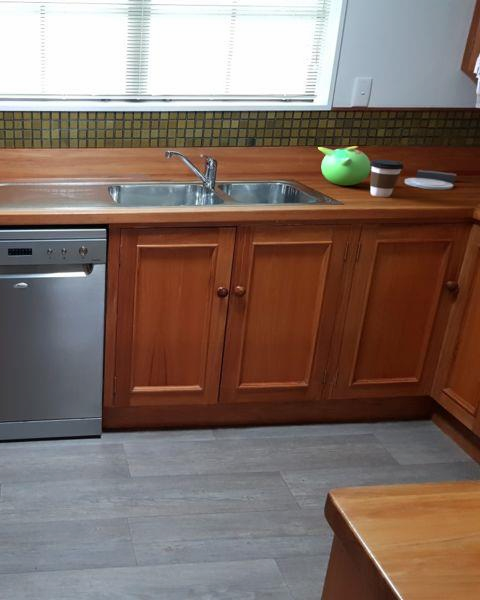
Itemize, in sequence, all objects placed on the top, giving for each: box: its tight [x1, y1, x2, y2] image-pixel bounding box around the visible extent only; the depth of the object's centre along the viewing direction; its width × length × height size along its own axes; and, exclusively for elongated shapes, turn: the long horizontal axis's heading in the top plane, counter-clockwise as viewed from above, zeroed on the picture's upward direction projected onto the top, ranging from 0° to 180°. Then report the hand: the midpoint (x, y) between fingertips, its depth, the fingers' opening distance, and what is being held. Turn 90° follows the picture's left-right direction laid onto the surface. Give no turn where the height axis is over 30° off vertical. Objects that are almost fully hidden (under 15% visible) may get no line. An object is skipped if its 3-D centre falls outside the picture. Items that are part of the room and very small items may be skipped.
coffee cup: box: [369, 158, 405, 198], centre depth 218 cm, size 11×11×12 cm
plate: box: [404, 177, 454, 191], centre depth 239 cm, size 17×17×1 cm
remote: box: [415, 169, 458, 183], centre depth 249 cm, size 14×4×3 cm, turn 59°
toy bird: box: [317, 145, 372, 187], centre depth 232 cm, size 18×17×15 cm
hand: (477, 106), depth 236 cm, fingers open, 8 cm apart
